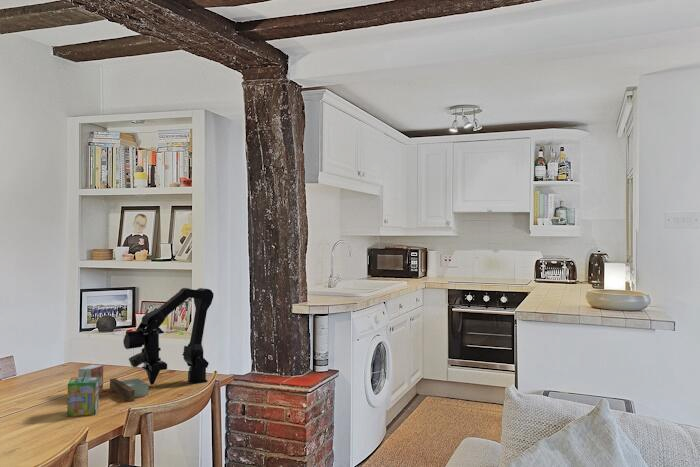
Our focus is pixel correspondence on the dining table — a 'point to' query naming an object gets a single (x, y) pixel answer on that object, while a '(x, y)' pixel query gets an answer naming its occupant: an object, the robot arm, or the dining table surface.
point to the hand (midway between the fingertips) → (151, 384)
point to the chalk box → (83, 396)
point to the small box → (93, 373)
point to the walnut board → (122, 390)
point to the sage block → (137, 386)
